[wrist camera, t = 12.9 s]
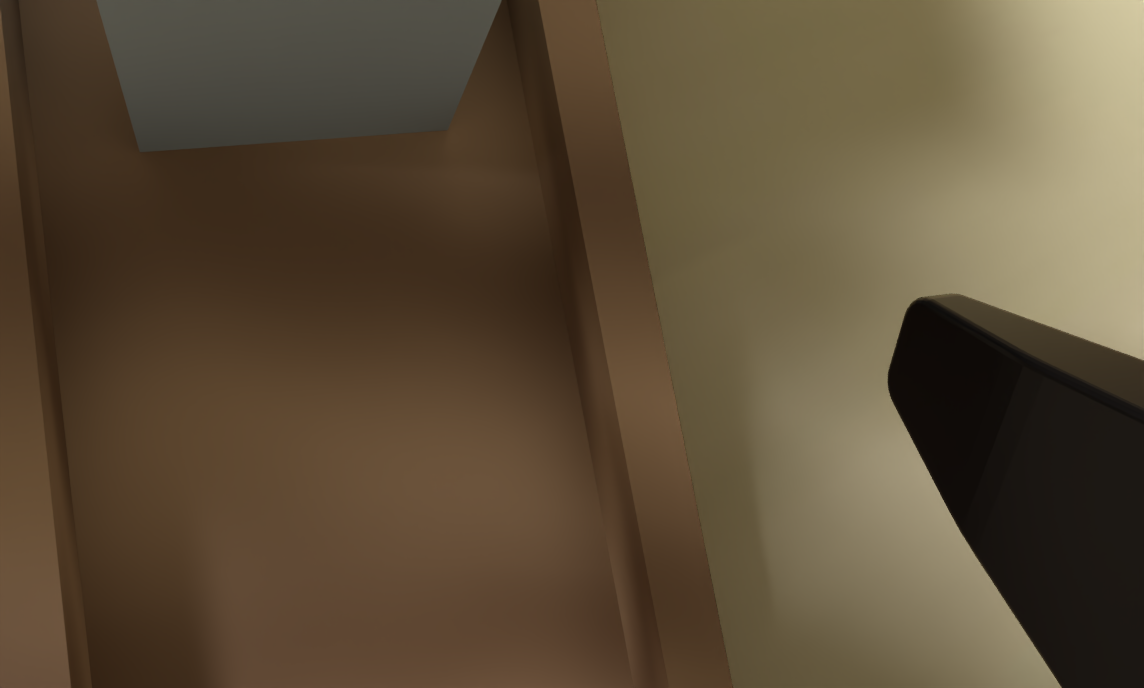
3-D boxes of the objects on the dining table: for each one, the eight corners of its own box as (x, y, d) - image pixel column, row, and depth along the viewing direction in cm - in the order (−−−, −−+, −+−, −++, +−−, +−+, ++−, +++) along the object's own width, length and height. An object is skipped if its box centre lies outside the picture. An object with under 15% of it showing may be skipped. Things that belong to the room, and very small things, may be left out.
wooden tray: (727, 960, 18) (799, 1018, 15) (73, 1177, 15) (37, 1290, 12) (485, -307, 22) (513, -414, 19) (-75, -339, 19) (-123, -472, 16)
